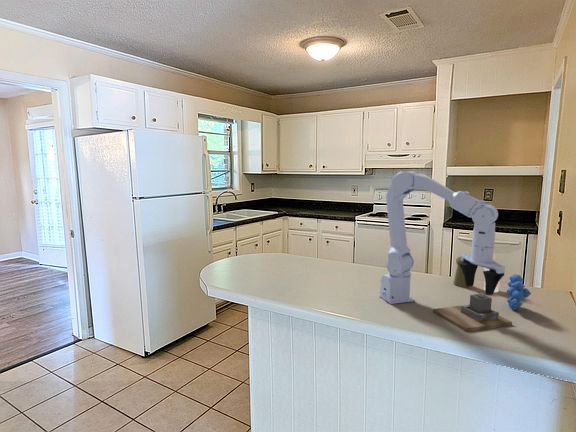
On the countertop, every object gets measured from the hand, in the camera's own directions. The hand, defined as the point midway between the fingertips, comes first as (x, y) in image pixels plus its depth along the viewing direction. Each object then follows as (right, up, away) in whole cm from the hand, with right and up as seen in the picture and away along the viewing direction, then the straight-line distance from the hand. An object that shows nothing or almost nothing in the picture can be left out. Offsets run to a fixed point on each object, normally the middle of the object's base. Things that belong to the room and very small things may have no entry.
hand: (479, 289), depth 107 cm
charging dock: (-2, -9, +1) cm, 9 cm away
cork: (+10, -5, +31) cm, 33 cm away
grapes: (+16, -8, +7) cm, 19 cm away
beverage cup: (+18, -6, +25) cm, 31 cm away
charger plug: (0, -8, 0) cm, 8 cm away
